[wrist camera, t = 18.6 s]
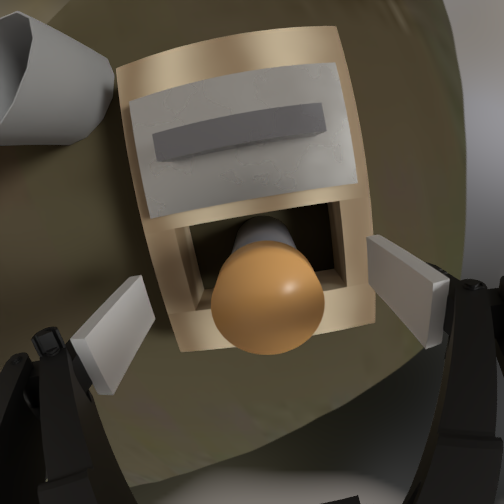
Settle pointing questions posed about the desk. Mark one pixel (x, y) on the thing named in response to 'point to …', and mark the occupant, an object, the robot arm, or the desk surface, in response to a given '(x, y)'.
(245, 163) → the shutter
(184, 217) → the socket board
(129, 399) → the desk surface
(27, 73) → the cup
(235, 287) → the orange grey cylinder
